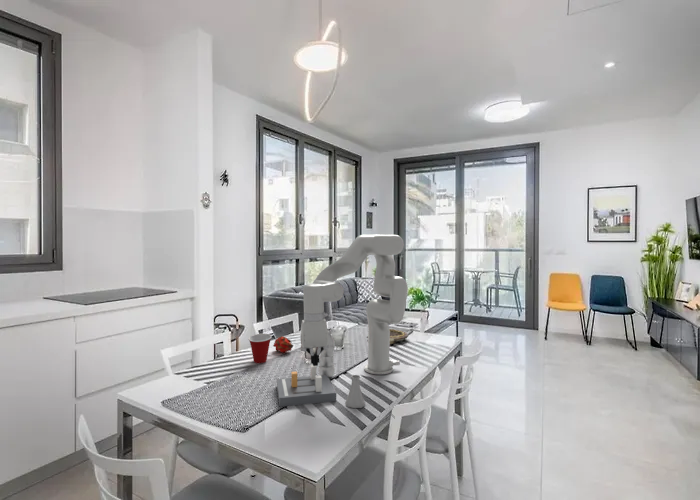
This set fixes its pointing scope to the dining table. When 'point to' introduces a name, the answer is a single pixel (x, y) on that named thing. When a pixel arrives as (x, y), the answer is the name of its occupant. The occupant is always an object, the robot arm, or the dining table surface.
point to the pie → (397, 336)
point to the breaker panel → (306, 390)
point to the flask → (355, 394)
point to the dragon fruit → (283, 344)
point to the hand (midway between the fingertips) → (315, 364)
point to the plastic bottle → (327, 357)
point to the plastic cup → (260, 347)
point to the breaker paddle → (294, 379)
